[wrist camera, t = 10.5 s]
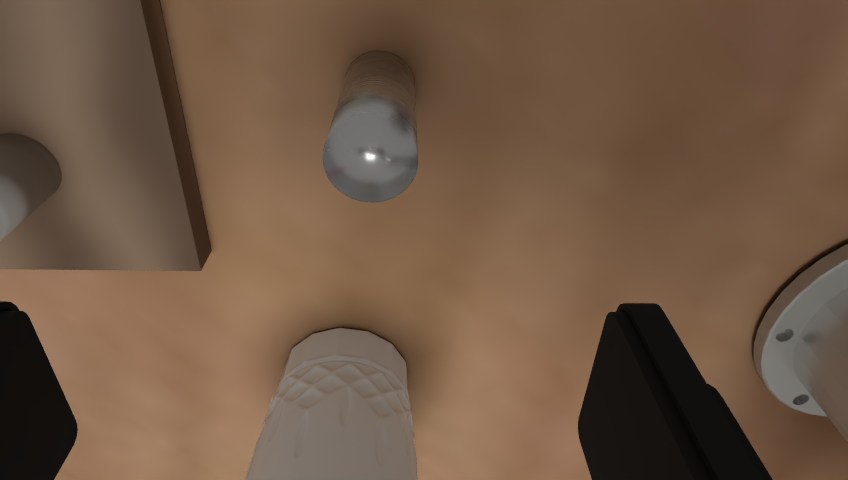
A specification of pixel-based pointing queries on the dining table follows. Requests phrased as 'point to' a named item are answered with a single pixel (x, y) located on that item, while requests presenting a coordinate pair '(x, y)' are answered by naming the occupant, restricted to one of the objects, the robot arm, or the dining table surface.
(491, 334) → the dining table surface
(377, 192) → the peg
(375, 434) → the white cup
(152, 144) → the pin board
